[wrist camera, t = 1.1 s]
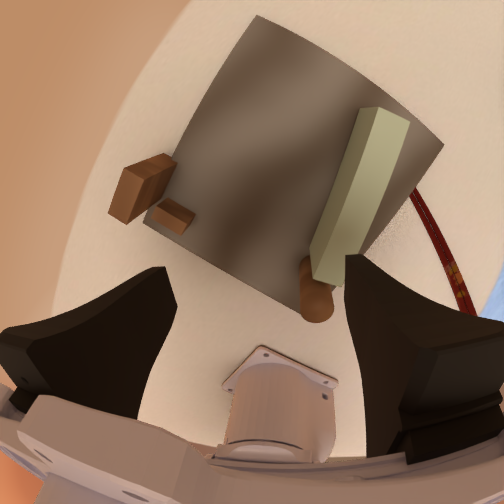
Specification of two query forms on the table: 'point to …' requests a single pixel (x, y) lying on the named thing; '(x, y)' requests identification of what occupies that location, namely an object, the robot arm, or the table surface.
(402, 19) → the table surface
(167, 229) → the grey base plate
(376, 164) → the gate
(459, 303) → the chopstick
